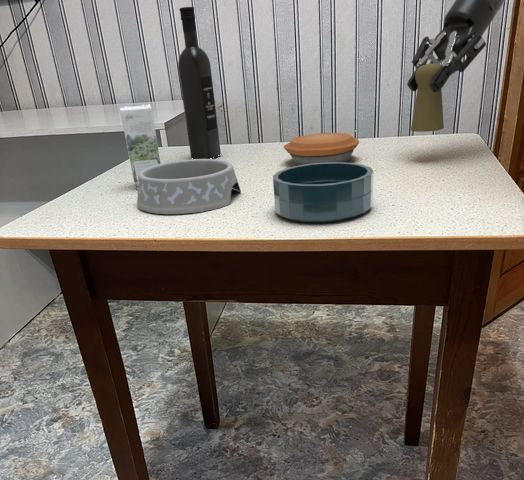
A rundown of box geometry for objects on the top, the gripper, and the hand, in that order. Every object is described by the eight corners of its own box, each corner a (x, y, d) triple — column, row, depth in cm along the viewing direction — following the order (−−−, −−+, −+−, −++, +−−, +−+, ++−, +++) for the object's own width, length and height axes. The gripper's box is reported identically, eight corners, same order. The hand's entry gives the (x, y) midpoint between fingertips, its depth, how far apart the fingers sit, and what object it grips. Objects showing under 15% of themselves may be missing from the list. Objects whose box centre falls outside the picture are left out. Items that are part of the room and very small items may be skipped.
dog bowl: (249, 184, 100) (246, 154, 97) (223, 214, 84) (218, 179, 82) (163, 187, 103) (158, 158, 101) (123, 216, 88) (116, 183, 85)
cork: (438, 131, 98) (442, 64, 93) (406, 131, 102) (408, 66, 96) (447, 126, 103) (452, 61, 97) (416, 126, 106) (419, 63, 100)
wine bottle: (223, 155, 127) (205, 5, 112) (209, 160, 123) (189, 6, 108) (203, 155, 130) (184, 8, 115) (189, 160, 126) (167, 9, 110)
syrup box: (163, 180, 109) (150, 102, 102) (165, 186, 104) (151, 105, 97) (135, 184, 108) (119, 105, 101) (135, 190, 103) (119, 108, 96)
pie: (369, 153, 115) (369, 128, 112) (344, 170, 103) (343, 143, 101) (303, 153, 122) (301, 129, 119) (272, 168, 110) (270, 143, 107)
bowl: (346, 192, 89) (345, 158, 87) (390, 213, 77) (391, 174, 75) (263, 206, 86) (260, 171, 83) (295, 231, 74) (293, 191, 71)
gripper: (437, -6, 100) (384, 74, 101) (500, -16, 89) (440, 74, 90) (455, 25, 104) (405, 101, 106) (518, 19, 93) (461, 104, 95)
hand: (422, 88), depth 98 cm, fingers closed on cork, 5 cm apart
